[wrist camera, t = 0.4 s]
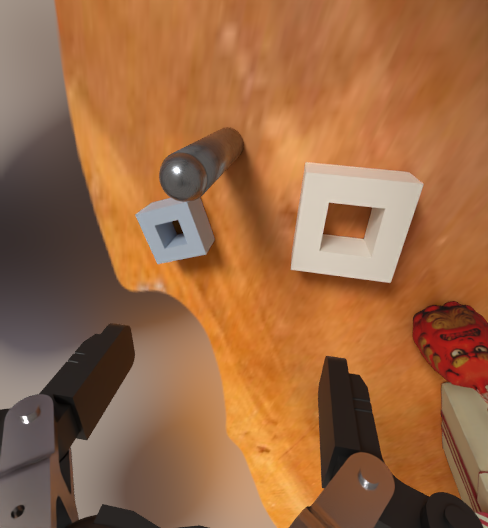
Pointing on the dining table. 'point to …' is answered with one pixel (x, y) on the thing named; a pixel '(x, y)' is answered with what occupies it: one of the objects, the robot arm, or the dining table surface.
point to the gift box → (467, 444)
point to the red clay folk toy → (454, 344)
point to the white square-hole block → (378, 229)
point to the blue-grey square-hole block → (163, 232)
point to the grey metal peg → (199, 164)
